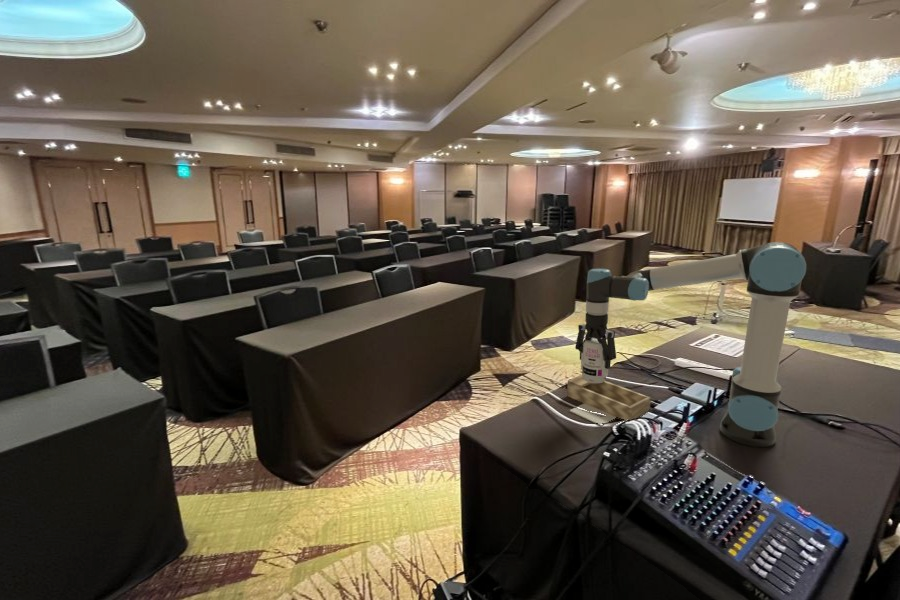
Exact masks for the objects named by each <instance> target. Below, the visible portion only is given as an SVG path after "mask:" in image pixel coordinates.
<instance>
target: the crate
mask: <svg viewBox="0 0 900 600" xmlns="http://www.w3.org/2000/svg"><path fill="white" fill-rule="evenodd" d="M566 385H567V387H566V390H567V391H566V393H567V394H566V396H567V397H568V398H571V399H572V400H575V401H578V402H579V403H581V404H584V403H585V404H588V405H590V406H592V407H594V408H597V409H599V410H601V411H604V412H606V413H608V414H611V415H613V416H615V417H618V418H617V419H619V418H621V419H624V420H627V419H633V418H637V417H639V416H640V415H642V414H643V413H645V412H647V411H648V410H649V409H650V410H651V396H648V395H644V394H642V393H639V392H637V391H634V390H632V389H629V388H626V387H624V386H620V385H618V384H615V383H612V382H610V381H606V380H605V381H604V382H602V383H589V382H587V381H585V380H584V379H583V378H582V374H580V375H577V376H575V377H573V378H570V379H568V380H567V384H566ZM621 419H620V420H621Z"/></svg>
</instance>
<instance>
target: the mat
mask: <svg viewBox="0 0 900 600" xmlns="http://www.w3.org/2000/svg"><path fill="white" fill-rule="evenodd" d="M577 407H580V408H583V409H585V410H587V411H589V412H587V411H582V410H580V409H577V408H575V407H574V408H572V409H569V412H570V413H573V414H574V415H577V416H579V417H580V418H583V419H584V420H587V421H590V422H591V423H594V424H596V423H598V424H602V423H607V424H609V423H610V422H612V421H614V420H616V419H617V418H616V417H615V416H613V415H611V414H608V413H606V412H604V411H601V410H599V409H597V408H594V407H592V406H590V405H588V404H585V403H581V404H580V405H578V406H577ZM590 411H592V412H597V413H601V414H604V415H606V416H607V417H600V416H597V415H595V414H592V413H590ZM615 418H616V419H615ZM613 419H614V420H613ZM611 420H612V421H611ZM609 421H610V422H609ZM598 424H597V425H598Z"/></svg>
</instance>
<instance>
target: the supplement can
mask: <svg viewBox="0 0 900 600" xmlns="http://www.w3.org/2000/svg"><path fill="white" fill-rule="evenodd" d="M603 359H604V356H603V348H602V345H601V344H600V343H599V342H598V340H597V339H596V338H592V339H590V340H585V342H584V344H583V367H582V370H581V372H582V373H581V375H582V378H583V379H584V380H585V381H587V382H589V383H602V382H604V381H606V378H607V376H606V377H604V378H603V377H602V360H603Z"/></svg>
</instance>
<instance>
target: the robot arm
mask: <svg viewBox="0 0 900 600" xmlns="http://www.w3.org/2000/svg"><path fill="white" fill-rule="evenodd" d="M806 273H807V261H806V258H805V257H804V255H803V254H802V253H801V252H800V250H798V249H797V248H796V247H795V246H793V245H792V244H790V243H788V242H782V241H772V242H767V243H764V244H761V245H757V246H753V247H750V248H744V249H739V251H738V252H737V253H735V254H730V255H729V254H728V255H723V256H717V257H713V258H705V259H700V260H694V261H689V262H684V263H677V264H673V265H666V266H661V267H654V268H650V269H644V270H642V269H638V270H634V271H632V272H630V273H629V274H627V275H626V276H616V275H612V274H611V270H610V269H608V268H607V269H606V268H592V269H589V270H588V272H587V279H586V280H587V281H586V299H585V300H586V301H585V311H586V312H585V323H581V324H579V325H578V329H577V330H578V333H577V337H576V343H575V346H574V347H575V350H578V351H579V361H580V370H581V371H582V367H583V344H584V342H585V340H590V339H592V338H596V339H597V340H598V342H599V343H600V344H601V345H602V348H603V356H604V359H603V360H602V377H603V378H604V377H606V378H607V377H608V376H609V369H611V364H612V363H611V361H613V360H617V353H616V343H615V335H616V332H615V331H614V330H613V331H610V330H609V329H608V323H609V305H610V298H612V299H620V300H628V301H629V300H630V301H635V302H636V301H645V300H646V299H647V298H648V295H649V292H652V291H655V290H664V289H669V288H677V287H685V286H691V285H699V284H705V283H712V282H719V281H727V280H733V279H742V280H744V281H747V284H746V285H747V287H746V292H747V293H748V294H749V295H750V297H751V302H750V309H749V315H748V319H747V321H748V322H747V326H746V333H745V339H744V345H743V352H742V356H741V357H742V359H741V365H740V366H737V367H735V368H734V369H733V371H732V373H731V376H732V377H731V387H730V393H729V400H728V404H727V410H726V412H725V414H723V415H724V416H723V417H722V418H721V421H720V424H719V431H720V433H721V434H722V435H723V436H725V437H726V438H728V439H730V440H731V441H734V442H736V443H739V444H741V445H744V446H750V447H755V448H757V447H758V448H767V447H771V446H773V445H774V444H775V443H776V440H777V438H776V437H777V434H776V430H775V425H776V424H777V422H778V420H779V417H780V416H779V411H778V410H779V409H778V408H779V405H780V404H779V403H780V398H781V397H780V396H781V393H782V386H781V385H780V384H779V382H778V376H777V375H778V371H779V365H780V359H781V356H782V355H781V354H782V347H783V344H784V338H785V334H786V333H785V332H786V329H787V328H786V327H787V322H788V318H789V317H788V315H789V311H790V304H791V302H792V300H794V299H796V298H798V297H799V296H800V291H801V285H802V280H803V279H804V277H805V276H806Z"/></svg>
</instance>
